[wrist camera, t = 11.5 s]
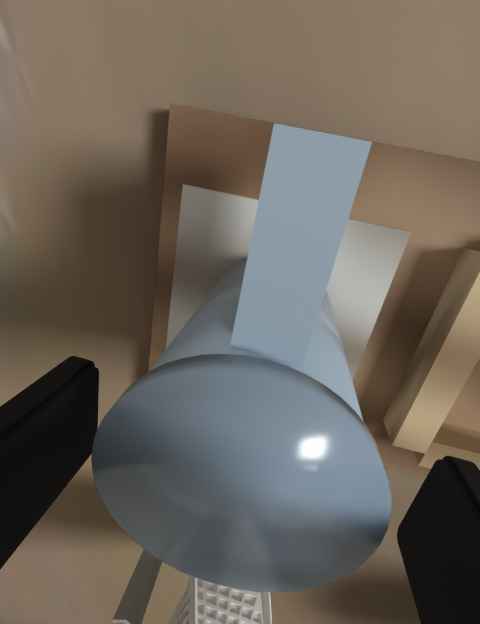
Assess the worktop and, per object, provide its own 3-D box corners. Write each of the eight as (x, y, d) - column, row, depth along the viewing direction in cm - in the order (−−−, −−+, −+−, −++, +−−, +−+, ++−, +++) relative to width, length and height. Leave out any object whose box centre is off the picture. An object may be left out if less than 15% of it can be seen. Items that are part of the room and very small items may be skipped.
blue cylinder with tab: (314, 382, 17) (334, 620, 8) (199, 353, 17) (92, 546, 8) (384, 177, 13) (599, 172, 4) (232, 146, 13) (87, 76, 4)
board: (573, 502, 19) (594, 527, 18) (153, 393, 21) (143, 407, 19) (818, 230, 13) (881, 236, 11) (179, 109, 14) (167, 101, 13)
